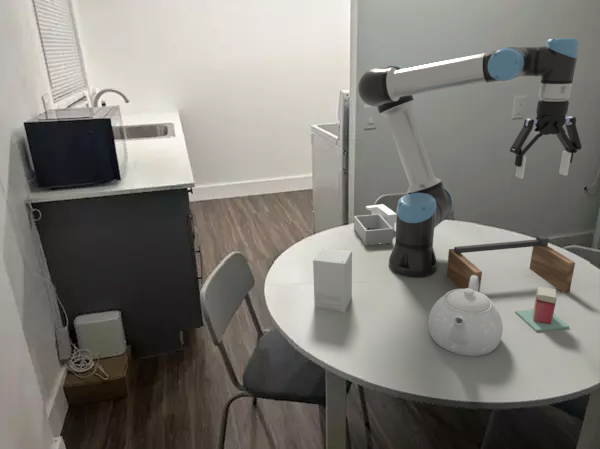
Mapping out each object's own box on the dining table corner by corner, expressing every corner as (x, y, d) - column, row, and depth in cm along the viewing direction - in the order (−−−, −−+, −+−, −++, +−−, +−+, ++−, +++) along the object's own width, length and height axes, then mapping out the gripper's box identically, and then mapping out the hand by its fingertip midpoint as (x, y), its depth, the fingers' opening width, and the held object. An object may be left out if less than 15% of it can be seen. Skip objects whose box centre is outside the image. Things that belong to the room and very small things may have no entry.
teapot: (521, 351, 109) (530, 300, 105) (452, 367, 105) (458, 315, 100) (472, 311, 126) (477, 266, 121) (411, 324, 122) (414, 277, 117)
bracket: (382, 220, 194) (365, 222, 192) (383, 204, 191) (365, 206, 189) (396, 231, 182) (378, 233, 180) (397, 214, 179) (378, 216, 177)
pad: (535, 332, 116) (536, 329, 116) (515, 313, 125) (515, 311, 125) (568, 328, 118) (569, 326, 117) (546, 309, 126) (546, 307, 126)
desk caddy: (365, 246, 169) (365, 231, 167) (353, 230, 184) (354, 216, 182) (392, 244, 170) (393, 228, 168) (378, 228, 185) (379, 214, 183)
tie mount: (471, 302, 131) (475, 272, 127) (446, 276, 145) (449, 249, 142) (569, 291, 134) (575, 262, 131) (535, 267, 149) (539, 241, 146)
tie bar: (457, 254, 138) (457, 246, 137) (453, 250, 140) (454, 243, 140) (547, 245, 142) (548, 238, 141) (542, 242, 144) (543, 235, 143)
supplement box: (352, 297, 135) (353, 250, 129) (345, 313, 127) (345, 264, 122) (322, 293, 138) (322, 247, 132) (313, 308, 130) (312, 260, 124)
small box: (532, 311, 124) (537, 285, 121) (550, 315, 122) (556, 288, 119) (532, 321, 120) (537, 294, 117) (551, 325, 118) (557, 297, 115)
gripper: (518, 103, 121) (508, 182, 128) (605, 98, 124) (590, 176, 132) (502, 100, 128) (493, 175, 135) (585, 96, 131) (572, 169, 139)
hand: (541, 176), depth 134 cm, fingers open, 13 cm apart
